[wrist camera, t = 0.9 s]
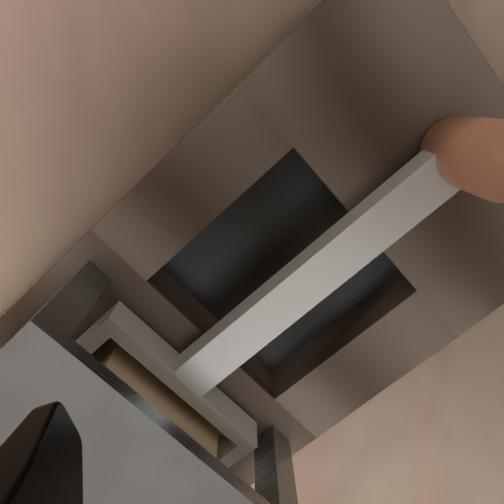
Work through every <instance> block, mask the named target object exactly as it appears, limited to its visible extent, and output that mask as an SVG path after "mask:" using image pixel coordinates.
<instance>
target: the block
mask: <svg viewBox="0 0 504 504" xmlns="http://www.w3.org/2000/svg"><path fill="white" fill-rule="evenodd" d="M96 359H97V360H99V361H100V362H101V363H102V364H103V365H105V366H106V367H107V368H108V369H109V370H111V371H112V372H113V373H114V374H115V375H117V376H118V377H119V378H120V379H121V380H123V381H124V382H125V383H126V384H127V385H129V386H130V387H131V388H132V389H133V390H135V391H136V392H137V393H138V394H139V395H141V396H142V397H143V398H144V399H146V400H147V401H148V402H149V403H150V404H152V405H153V406H154V407H155V408H156V409H158V410H159V411H160V412H161V413H162V414H164V415H165V416H166V417H167V418H168V419H170V420H171V421H172V422H173V423H174V424H176V425H177V426H178V427H179V428H180V429H182V430H183V431H184V432H185V433H186V434H188V435H189V436H190V437H191V438H192V439H194V440H195V441H196V442H197V443H198V444H200V445H201V446H202V447H203V448H205V449H206V450H207V451H208V452H209V453H211V454H212V455H213V456H214V457H215V458H217V450H218V437H219V430H218V429H217V428H216V427H214V426H213V425H212V424H211V423H210V422H209V421H207V420H206V419H205V418H204V417H203V416H202V415H200V414H199V413H198V412H197V411H196V410H195V409H193V408H192V407H191V406H190V405H189V404H188V403H186V402H185V401H184V400H183V399H182V398H181V397H179V396H178V395H177V394H176V393H175V392H174V391H172V390H171V389H170V388H169V387H168V386H167V385H165V384H164V383H163V382H162V381H161V380H160V379H158V378H157V377H156V376H155V375H154V374H153V373H151V372H150V371H149V370H148V369H147V368H146V367H144V366H143V365H142V364H141V363H140V362H139V361H137V360H136V359H135V358H134V357H133V356H131V355H130V354H129V353H128V352H127V351H126V350H124V349H123V348H122V347H121V346H120V345H119V344H117V343H116V342H115V341H114V342H113V343H112V344H111V345H110V346H109V347H107V348H106V349H105V350H104V351H103V352H102V353H101V354H100V355H98V356H97V357H96Z"/></svg>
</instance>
